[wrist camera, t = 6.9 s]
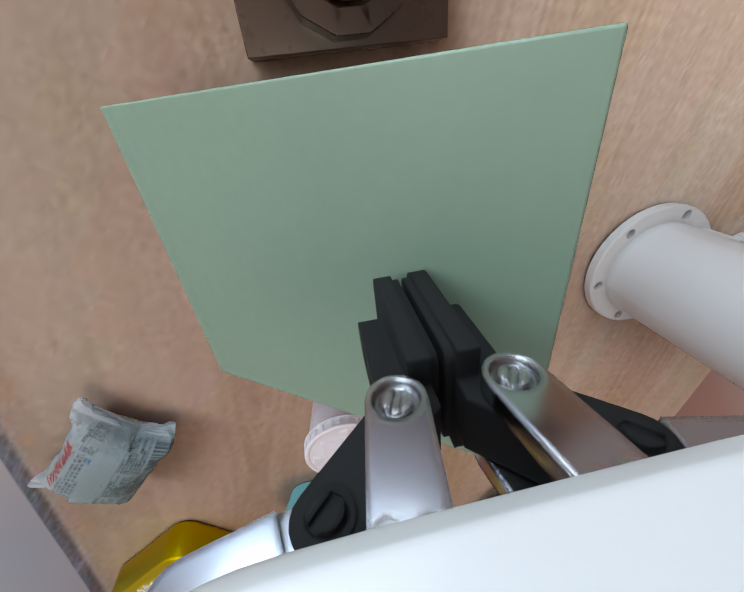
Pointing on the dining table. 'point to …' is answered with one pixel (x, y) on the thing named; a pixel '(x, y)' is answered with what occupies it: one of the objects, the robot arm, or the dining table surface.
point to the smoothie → (327, 433)
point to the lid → (375, 198)
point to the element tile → (164, 554)
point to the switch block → (336, 25)
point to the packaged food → (105, 456)
